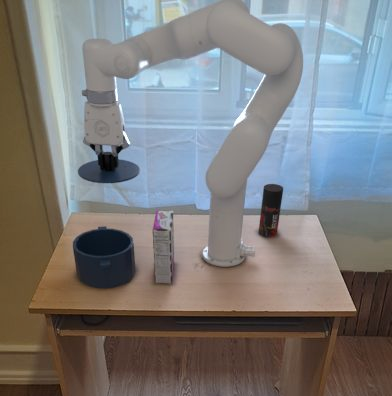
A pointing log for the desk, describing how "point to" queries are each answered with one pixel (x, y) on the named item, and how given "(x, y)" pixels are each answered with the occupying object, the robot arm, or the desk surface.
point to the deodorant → (270, 210)
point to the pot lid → (108, 171)
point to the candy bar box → (163, 247)
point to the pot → (104, 257)
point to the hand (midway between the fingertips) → (108, 168)
